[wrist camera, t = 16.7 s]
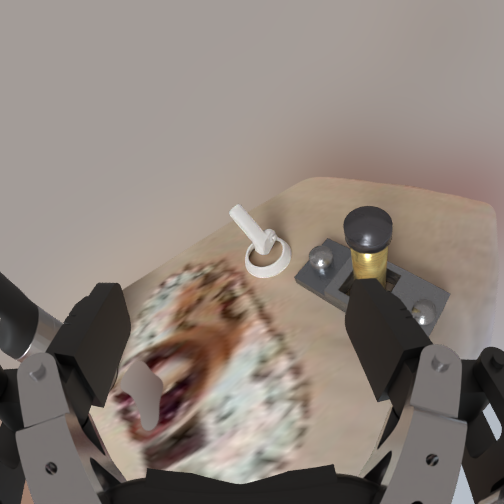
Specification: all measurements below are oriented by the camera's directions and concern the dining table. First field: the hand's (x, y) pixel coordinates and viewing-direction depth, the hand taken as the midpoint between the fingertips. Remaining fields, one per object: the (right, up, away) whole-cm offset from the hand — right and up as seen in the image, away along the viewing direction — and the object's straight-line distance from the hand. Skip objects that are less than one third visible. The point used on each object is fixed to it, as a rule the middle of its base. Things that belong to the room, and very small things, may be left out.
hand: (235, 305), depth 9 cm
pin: (+16, -4, +26) cm, 31 cm away
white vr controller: (+3, +1, +36) cm, 37 cm away
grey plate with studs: (+16, -4, +26) cm, 31 cm away
